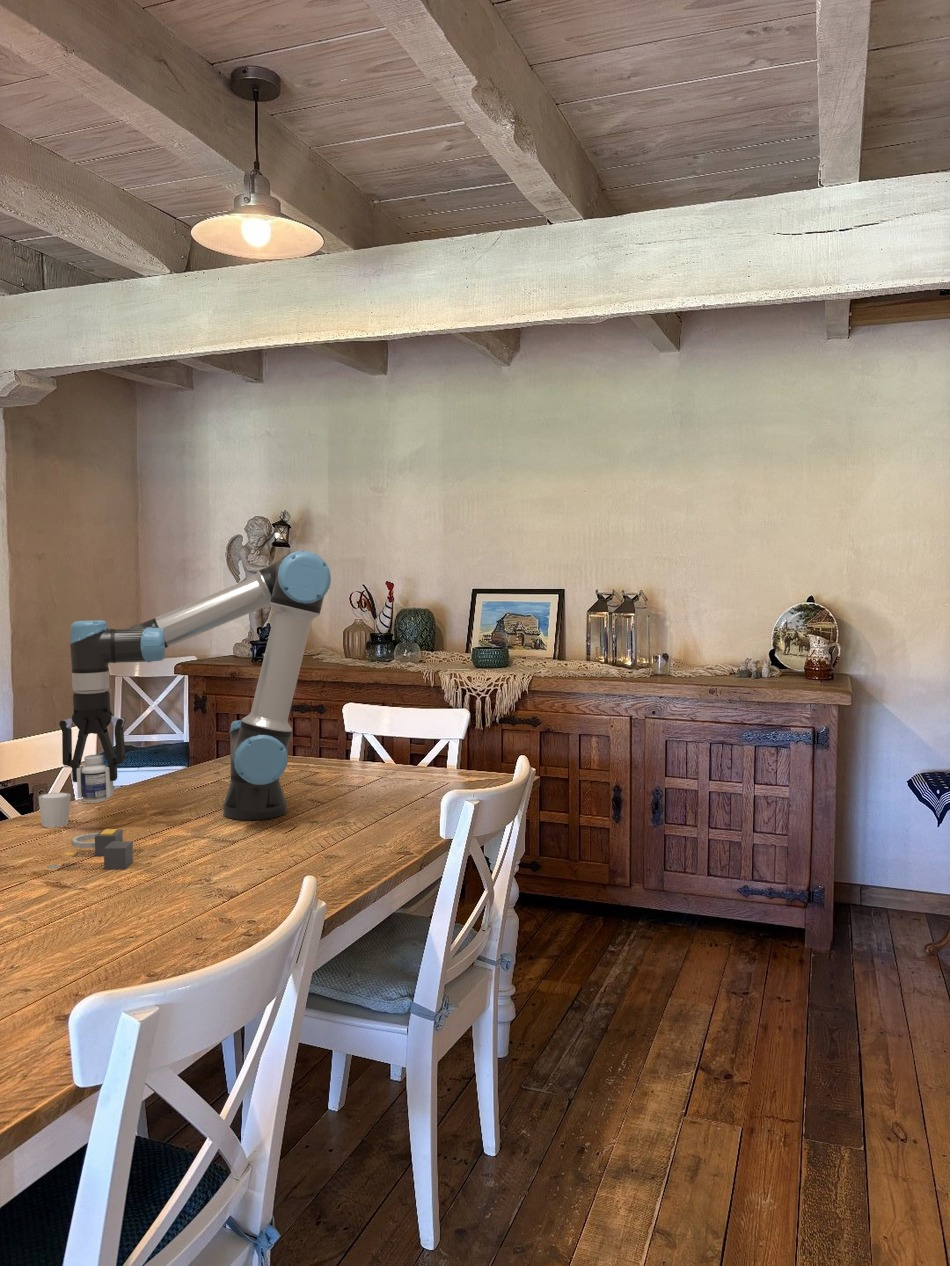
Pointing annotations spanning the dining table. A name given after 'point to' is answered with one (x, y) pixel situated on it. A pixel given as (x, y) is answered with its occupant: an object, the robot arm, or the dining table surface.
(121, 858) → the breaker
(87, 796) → the pill bottle
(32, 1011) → the dining table surface
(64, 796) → the grey cup
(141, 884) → the dining table surface
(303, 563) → the robot arm
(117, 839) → the tagged breaker
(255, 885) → the dining table surface
